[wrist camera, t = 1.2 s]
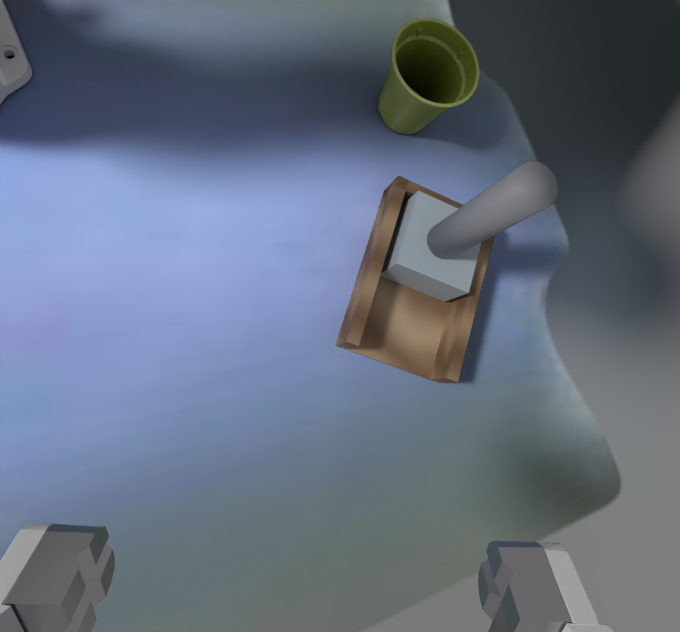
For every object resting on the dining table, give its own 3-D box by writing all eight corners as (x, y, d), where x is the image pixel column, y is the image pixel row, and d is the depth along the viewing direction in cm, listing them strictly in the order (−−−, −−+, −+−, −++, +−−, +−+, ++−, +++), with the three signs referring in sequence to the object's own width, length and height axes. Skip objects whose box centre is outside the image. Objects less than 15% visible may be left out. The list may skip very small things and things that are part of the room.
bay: (384, 190, 54) (398, 175, 50) (477, 232, 56) (498, 220, 52) (335, 345, 49) (347, 341, 46) (439, 382, 52) (457, 382, 48)
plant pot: (352, 127, 54) (380, 79, 45) (376, 58, 56) (407, 0, 48) (427, 162, 56) (467, 122, 47) (447, 94, 58) (488, 44, 50)
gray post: (398, 208, 53) (502, 114, 35) (461, 236, 55) (591, 160, 37) (378, 275, 51) (476, 211, 33) (444, 301, 53) (571, 255, 35)
